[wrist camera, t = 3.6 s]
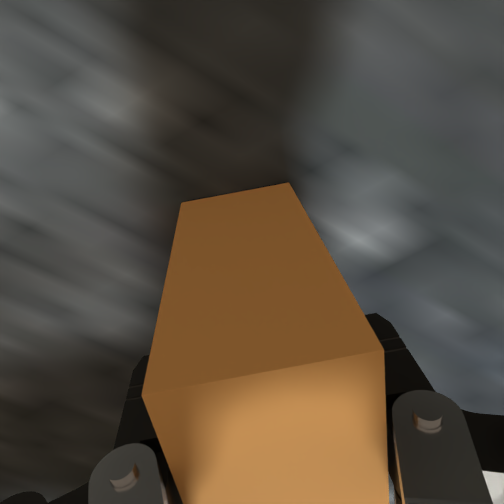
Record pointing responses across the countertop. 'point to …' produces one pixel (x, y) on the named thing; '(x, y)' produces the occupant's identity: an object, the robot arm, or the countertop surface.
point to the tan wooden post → (264, 362)
